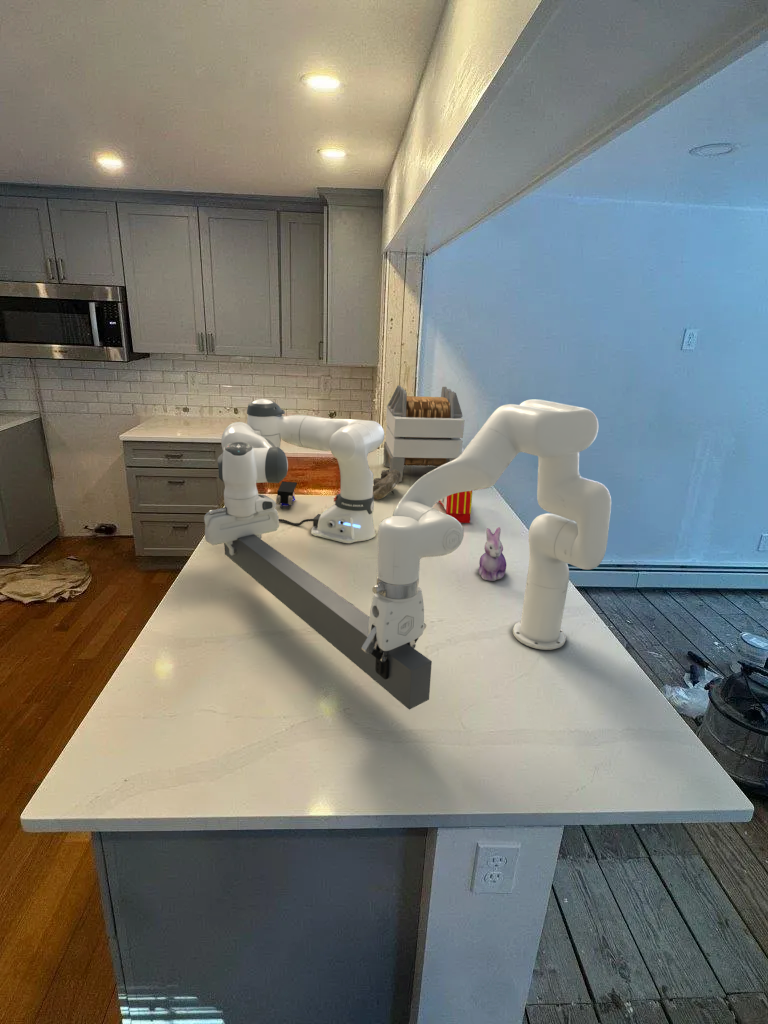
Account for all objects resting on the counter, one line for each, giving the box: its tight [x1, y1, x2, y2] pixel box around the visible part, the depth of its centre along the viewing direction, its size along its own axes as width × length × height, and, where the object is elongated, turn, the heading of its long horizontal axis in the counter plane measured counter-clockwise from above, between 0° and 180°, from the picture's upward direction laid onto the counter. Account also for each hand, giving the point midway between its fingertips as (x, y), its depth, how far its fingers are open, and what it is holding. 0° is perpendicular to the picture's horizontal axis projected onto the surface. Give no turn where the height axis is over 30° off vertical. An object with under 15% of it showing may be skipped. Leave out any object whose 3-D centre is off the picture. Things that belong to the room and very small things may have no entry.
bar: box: [223, 534, 433, 711], centre depth 131 cm, size 80×5×8 cm, turn 38°
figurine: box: [478, 526, 507, 582], centre depth 169 cm, size 9×10×15 cm
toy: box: [437, 491, 473, 524], centre depth 223 cm, size 12×13×30 cm
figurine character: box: [275, 480, 298, 509], centre depth 223 cm, size 7×8×15 cm
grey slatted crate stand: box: [383, 384, 465, 483], centre depth 268 cm, size 34×33×41 cm
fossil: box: [373, 469, 401, 501], centre depth 241 cm, size 22×10×15 cm
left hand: (244, 551), depth 155 cm, fingers closed on bar, 5 cm apart
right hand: (393, 669), depth 108 cm, fingers closed on bar, 4 cm apart
